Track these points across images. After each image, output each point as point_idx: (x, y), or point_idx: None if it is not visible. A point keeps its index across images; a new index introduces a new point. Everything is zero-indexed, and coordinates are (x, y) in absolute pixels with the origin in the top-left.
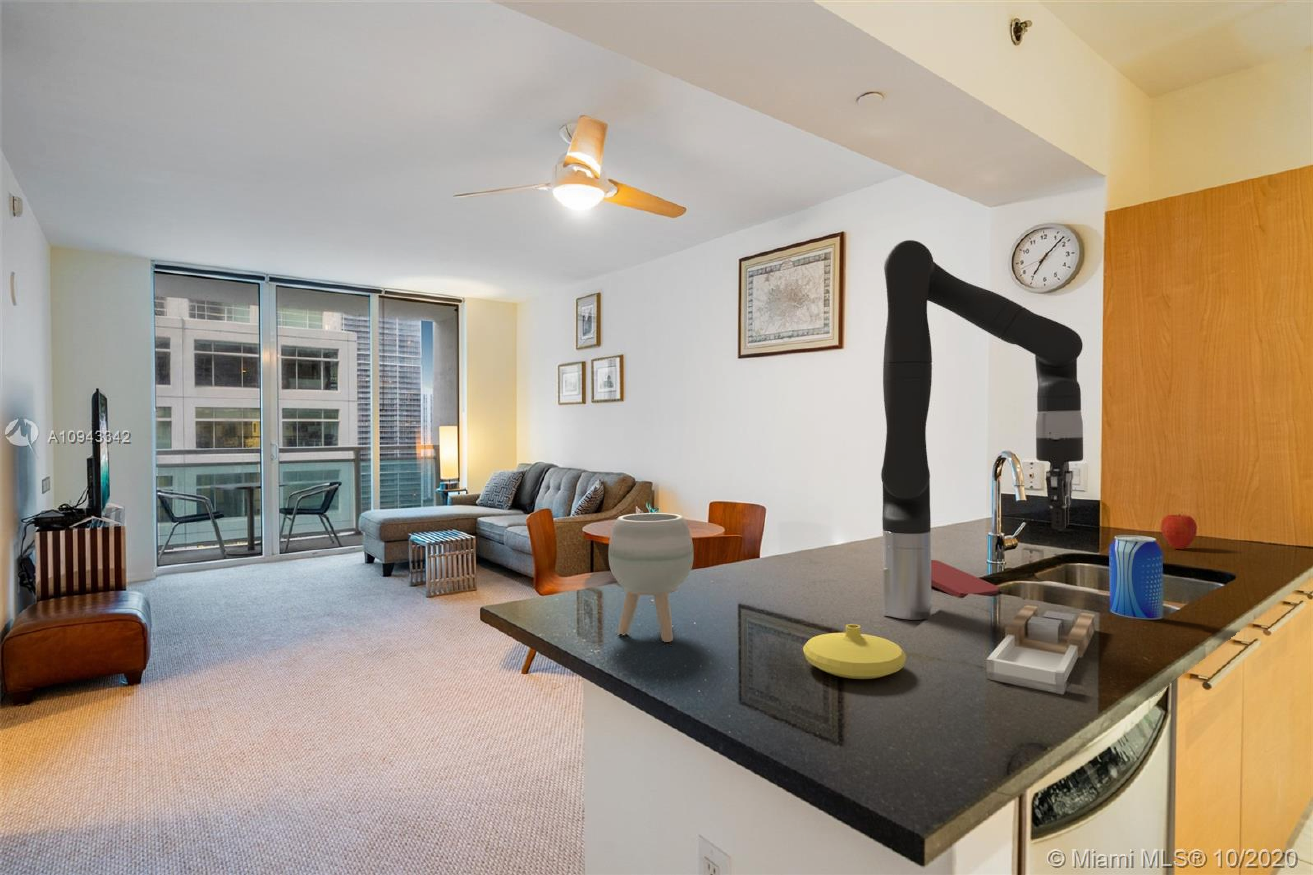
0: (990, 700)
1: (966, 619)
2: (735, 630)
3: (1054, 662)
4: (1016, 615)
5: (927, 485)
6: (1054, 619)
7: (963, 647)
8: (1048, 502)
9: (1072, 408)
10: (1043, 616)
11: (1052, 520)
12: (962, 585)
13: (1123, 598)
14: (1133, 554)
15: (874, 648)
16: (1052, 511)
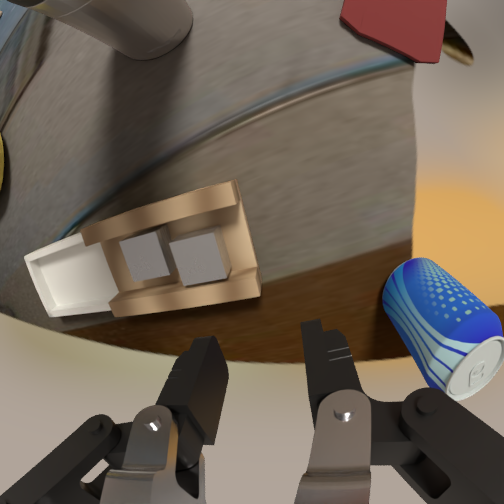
0: (19, 271)
1: (198, 91)
2: (9, 34)
3: (88, 290)
4: (145, 206)
5: None
6: (166, 264)
7: (76, 178)
8: (80, 427)
9: None
10: (169, 244)
11: (189, 361)
12: (384, 9)
13: (395, 300)
14: (426, 369)
15: None
16: (172, 397)
